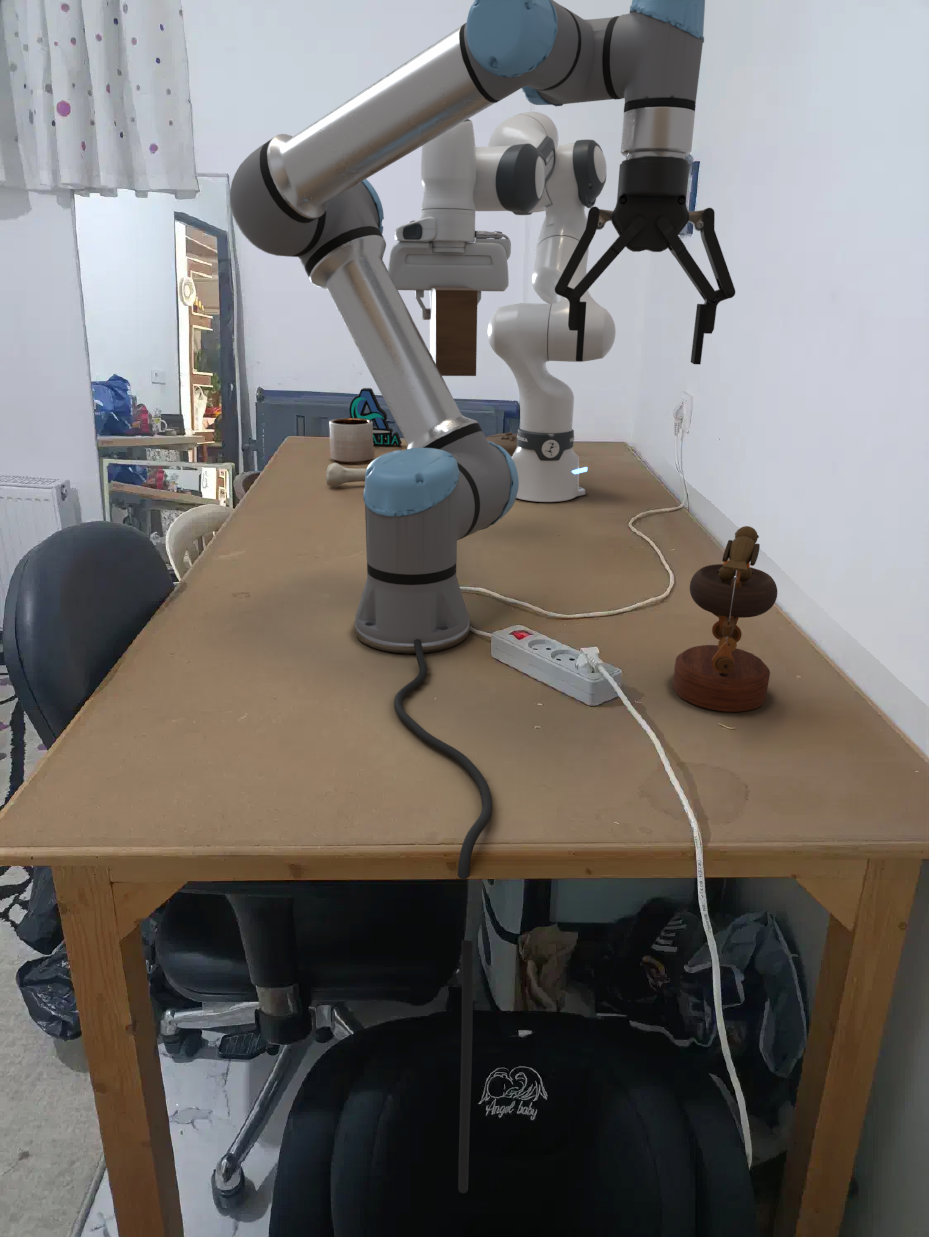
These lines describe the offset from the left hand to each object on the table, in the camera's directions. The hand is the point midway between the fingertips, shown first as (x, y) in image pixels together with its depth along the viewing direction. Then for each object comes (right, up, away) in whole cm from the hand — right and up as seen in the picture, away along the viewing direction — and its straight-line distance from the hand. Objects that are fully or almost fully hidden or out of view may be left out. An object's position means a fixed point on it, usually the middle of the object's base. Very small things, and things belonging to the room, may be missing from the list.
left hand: (636, 362), depth 100 cm
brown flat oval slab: (-5, +12, +122) cm, 123 cm away
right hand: (-23, +20, +44) cm, 53 cm away
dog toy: (-41, -1, +89) cm, 98 cm away
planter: (-49, +10, +114) cm, 125 cm away
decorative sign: (-47, +18, +133) cm, 142 cm away
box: (-23, +11, +37) cm, 45 cm away
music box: (+9, -39, -1) cm, 40 cm away
